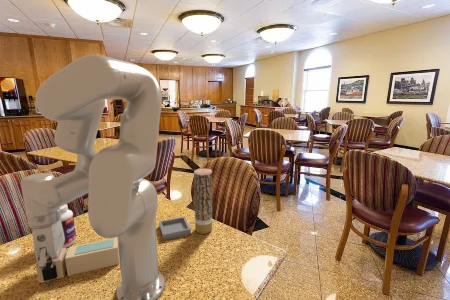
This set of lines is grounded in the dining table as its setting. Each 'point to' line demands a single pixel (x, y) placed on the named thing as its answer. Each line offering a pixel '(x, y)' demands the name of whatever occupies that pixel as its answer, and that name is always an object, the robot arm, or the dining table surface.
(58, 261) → the stub
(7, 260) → the dining table surface
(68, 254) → the beige rectangular block
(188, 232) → the tray
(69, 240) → the pill bottle
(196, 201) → the bark textured cylinder
